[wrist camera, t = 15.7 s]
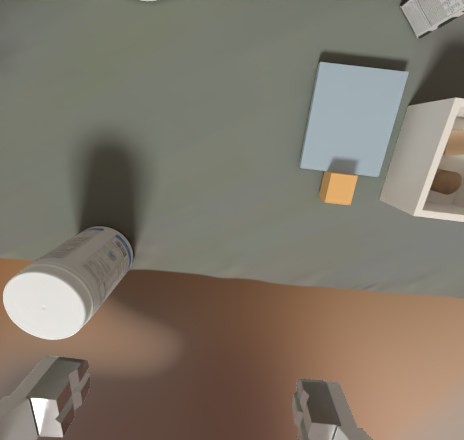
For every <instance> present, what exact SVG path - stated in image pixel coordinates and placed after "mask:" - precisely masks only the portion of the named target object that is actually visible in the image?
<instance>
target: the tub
mask: <svg viewBox="0 0 464 440" xmlns="http://www.w3.org/2000/svg"><path fill="white" fill-rule="evenodd" d="M461 129H464V99H463V98H450V99H444V100H439V101H433V102H427V103H422V104H416V105H410V106H408V107H407V110H406V114H405V117H404V120H403V124H402V127H401V130H400V133H399V137H398V140H397V143H396V146H395V150H394V153H393V156H392V159H391V163H390V166H389V169H388V172H387V176H386V179H385V182H384V185H383V189H382V192H381V195H380V198H379V200H381V201H383V202H385V203H387V204H389V205H391V206H394V207H396V208H398V209H400V210H402V211H404V212H406V213H409V214H411V215H413V216H420V217H428V218H436V219H445V220H453V221H461V222H464V155H448V156H443V152H444V149H445V147H446V144H447V141H448V138H449V136H450V133H451V130H461ZM437 169H442V170H447V171H452V172H457V173H459V174H460V175H461V177H462V183H461V186H460V187H459V189H458V190H457V191H455V192H454V193H452V194H448V195H446V194H442V193H439V192H435V191H432V190H430V187H431V185H432V182H433V179H434V177H435V174H436V171H437Z"/></svg>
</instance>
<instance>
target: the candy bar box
mask: <svg viewBox="0 0 464 440" xmlns="http://www.w3.org/2000/svg"><path fill="white" fill-rule="evenodd" d="M400 8H401V11H402V13H403V15H404V16H405V18H406V19H407V21H408V22H409V24H410V26H411V28H412V30H413V32H414V34H415V35H416V37H417V39H420V38H422V37H423V36H425V35H427V34H429V33H431V32H433V31H434V30H436V29H438V28H440V27H442V26H443V25H445V24H447V23H449V22H451V21H452V20H454V19H456V18H458V17H460V16H461V15H463V14H464V0H406V1H405V2H403V3H402V4H401V5H400Z"/></svg>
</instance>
